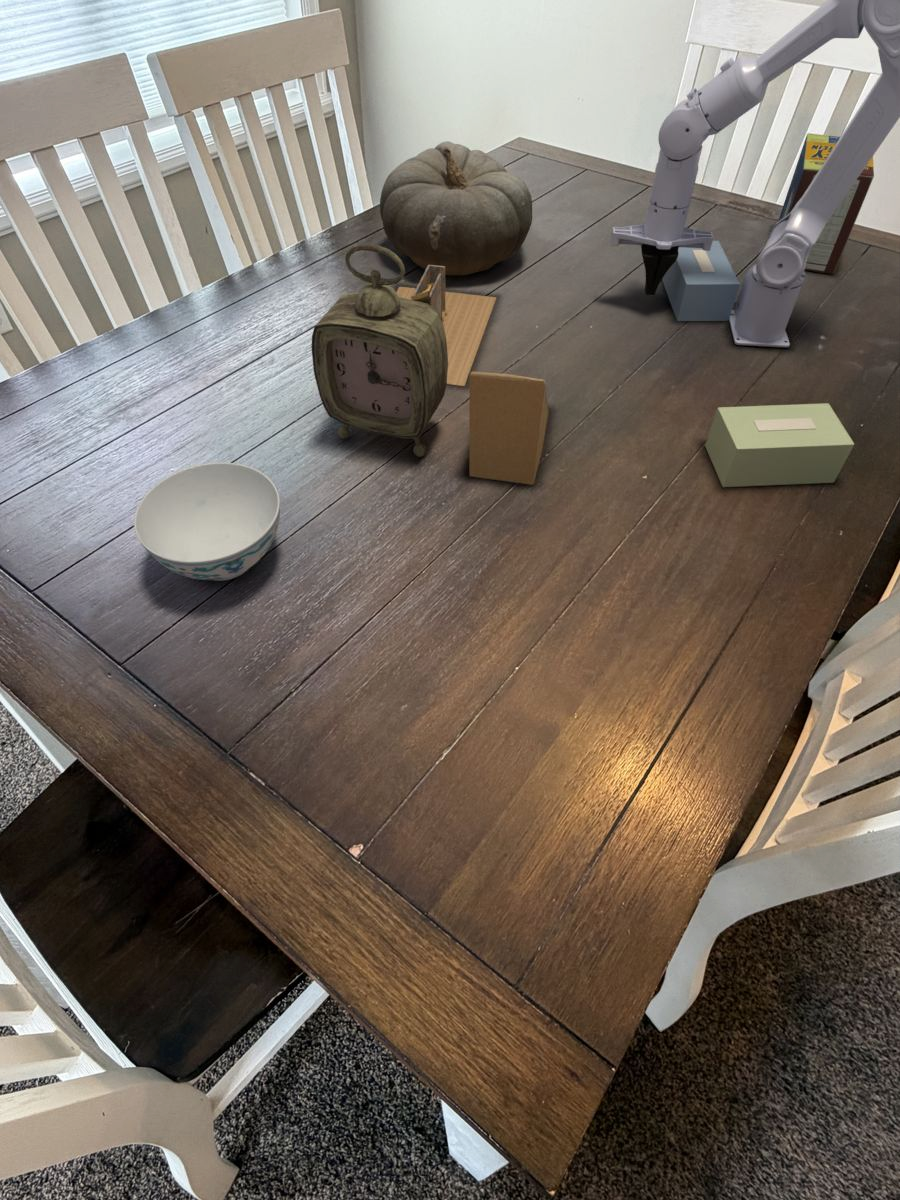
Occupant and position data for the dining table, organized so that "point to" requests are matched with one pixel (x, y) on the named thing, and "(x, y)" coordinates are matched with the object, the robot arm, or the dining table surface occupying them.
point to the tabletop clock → (380, 358)
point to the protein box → (845, 214)
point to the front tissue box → (777, 445)
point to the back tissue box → (701, 284)
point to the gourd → (455, 209)
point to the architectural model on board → (432, 288)
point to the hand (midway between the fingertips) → (649, 292)
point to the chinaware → (209, 520)
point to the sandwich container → (506, 426)
